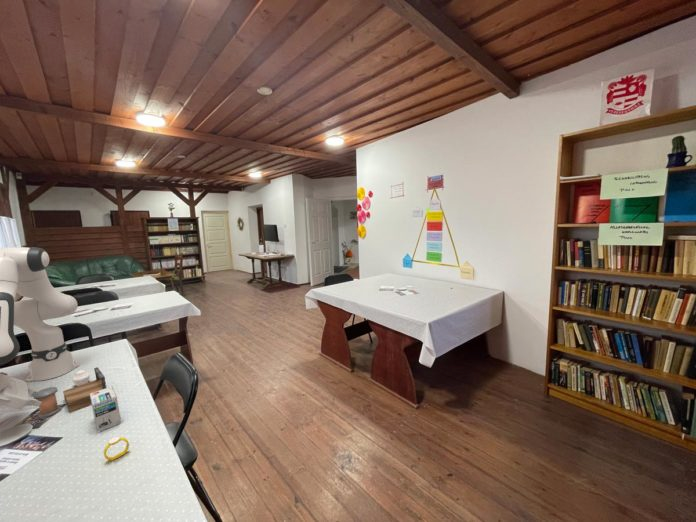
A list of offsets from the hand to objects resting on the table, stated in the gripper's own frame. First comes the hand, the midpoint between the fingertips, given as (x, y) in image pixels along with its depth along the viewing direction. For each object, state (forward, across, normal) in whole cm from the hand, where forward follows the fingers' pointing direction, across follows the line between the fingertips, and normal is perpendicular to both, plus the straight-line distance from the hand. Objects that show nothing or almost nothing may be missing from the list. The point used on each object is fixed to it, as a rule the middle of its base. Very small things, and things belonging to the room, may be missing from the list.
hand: (39, 399), depth 110 cm
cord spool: (+6, 0, +4) cm, 7 cm away
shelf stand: (+14, 0, -4) cm, 15 cm away
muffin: (+15, +17, -5) cm, 23 cm away
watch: (+14, -50, -4) cm, 52 cm away
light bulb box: (+16, -26, -6) cm, 31 cm away
